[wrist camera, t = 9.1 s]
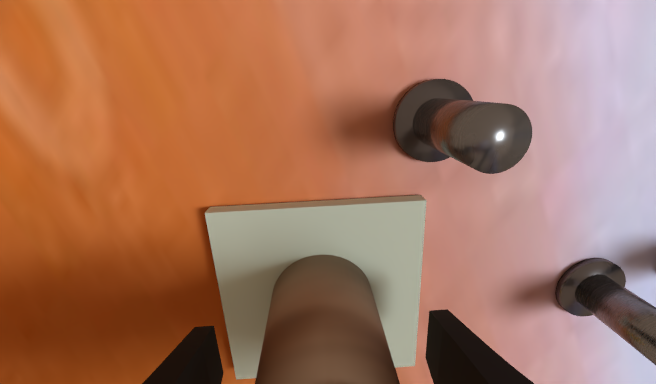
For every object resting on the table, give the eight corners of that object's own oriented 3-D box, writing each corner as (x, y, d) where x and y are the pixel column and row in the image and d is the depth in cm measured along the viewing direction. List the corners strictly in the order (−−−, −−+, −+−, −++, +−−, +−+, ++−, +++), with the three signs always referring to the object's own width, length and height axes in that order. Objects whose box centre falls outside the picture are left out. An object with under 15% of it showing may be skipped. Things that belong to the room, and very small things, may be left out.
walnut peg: (372, 334, 13) (419, 525, 7) (276, 341, 13) (248, 542, 7) (373, 250, 12) (431, 403, 6) (265, 256, 12) (220, 419, 6)
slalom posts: (697, 303, 14) (838, 381, 10) (387, 324, 14) (416, 416, 10) (873, -100, 9) (1261, -229, 5) (399, -87, 9) (465, -219, 5)
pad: (410, 354, 14) (415, 366, 14) (239, 367, 14) (236, 379, 13) (421, 194, 12) (426, 200, 11) (210, 206, 11) (204, 213, 11)
